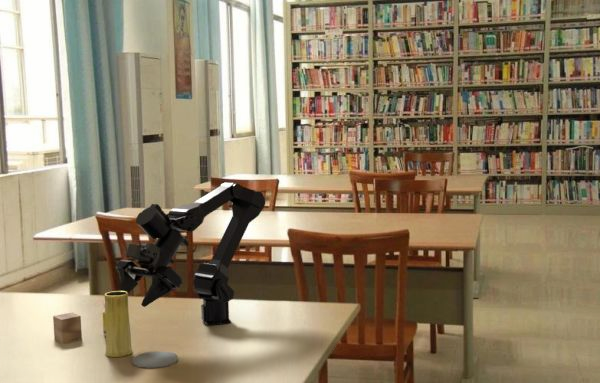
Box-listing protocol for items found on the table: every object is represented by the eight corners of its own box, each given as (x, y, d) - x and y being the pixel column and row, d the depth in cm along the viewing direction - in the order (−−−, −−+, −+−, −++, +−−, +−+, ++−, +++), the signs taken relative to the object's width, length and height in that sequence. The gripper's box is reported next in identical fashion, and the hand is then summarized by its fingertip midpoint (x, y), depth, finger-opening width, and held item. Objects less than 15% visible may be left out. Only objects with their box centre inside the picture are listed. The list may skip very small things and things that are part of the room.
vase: (137, 350, 176) (134, 291, 175) (123, 358, 170) (120, 297, 169) (115, 348, 178) (112, 289, 177) (100, 356, 172) (97, 295, 171)
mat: (173, 351, 175) (173, 349, 175) (181, 364, 165) (181, 361, 165) (129, 357, 171) (129, 354, 171) (135, 370, 162) (135, 367, 162)
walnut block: (73, 335, 190) (72, 312, 189) (81, 339, 186) (80, 315, 186) (54, 339, 187) (53, 315, 186) (62, 343, 183) (61, 319, 182)
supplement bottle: (117, 336, 187) (116, 304, 187) (100, 336, 188) (98, 303, 188) (125, 331, 192) (124, 299, 191) (108, 330, 193) (107, 299, 192)
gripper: (119, 227, 184) (84, 279, 177) (171, 233, 173) (135, 288, 165) (145, 254, 191) (112, 305, 184) (196, 261, 180) (163, 316, 172)
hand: (129, 303), depth 176 cm, fingers open, 9 cm apart
